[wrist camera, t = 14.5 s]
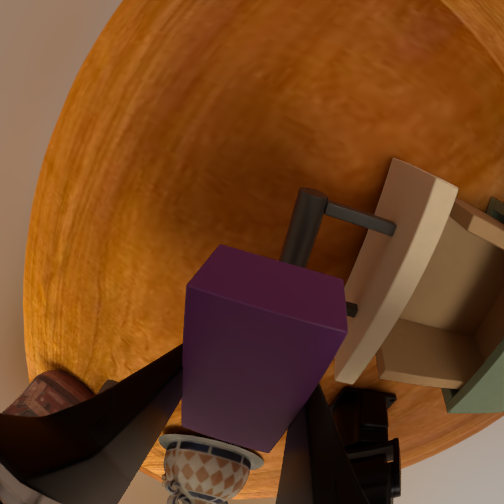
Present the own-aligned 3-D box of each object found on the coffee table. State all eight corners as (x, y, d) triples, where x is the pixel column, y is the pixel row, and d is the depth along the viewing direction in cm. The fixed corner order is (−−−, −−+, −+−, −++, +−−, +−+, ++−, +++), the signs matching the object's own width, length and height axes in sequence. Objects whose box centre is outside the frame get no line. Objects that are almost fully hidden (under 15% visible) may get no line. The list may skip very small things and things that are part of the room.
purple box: (278, 410, 11) (269, 453, 9) (200, 386, 12) (181, 426, 10) (343, 278, 8) (349, 332, 6) (219, 243, 8) (185, 284, 6)
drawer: (270, 290, 20) (248, 358, 14) (314, 130, 15) (313, 131, 9) (464, 342, 18) (487, 399, 12) (527, 228, 13) (577, 269, 7)
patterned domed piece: (281, 469, 38) (255, 560, 21) (203, 462, 45) (173, 535, 28) (226, 428, 32) (178, 551, 15) (143, 420, 39) (98, 506, 22)
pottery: (35, 347, 40) (-15, 401, 25) (89, 375, 37) (33, 450, 21) (70, 400, 48) (34, 449, 32) (125, 428, 44) (88, 490, 28)
